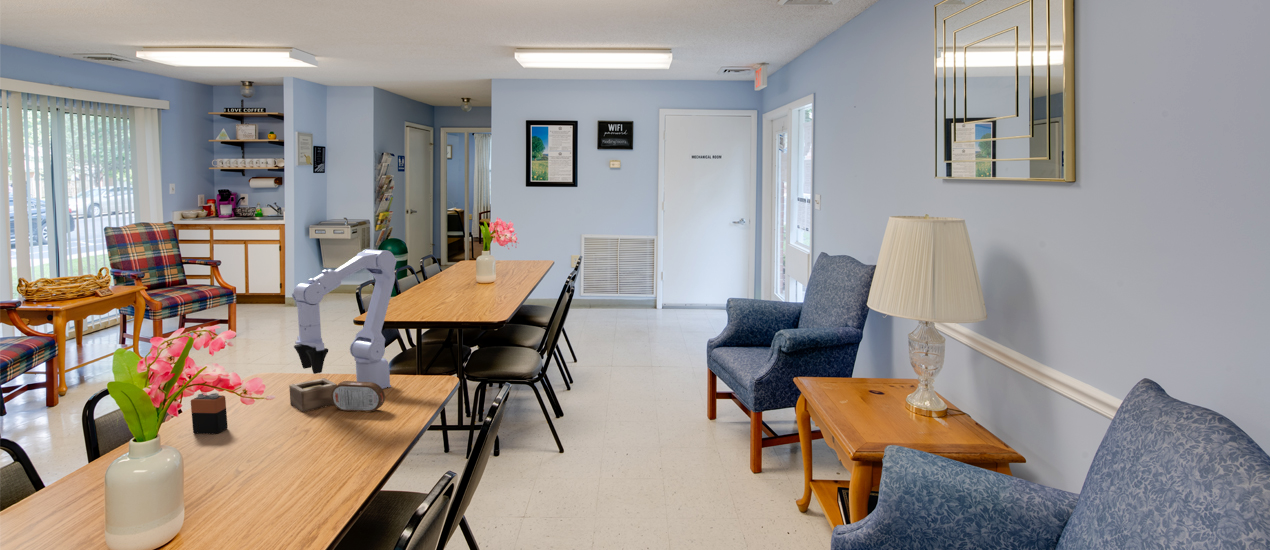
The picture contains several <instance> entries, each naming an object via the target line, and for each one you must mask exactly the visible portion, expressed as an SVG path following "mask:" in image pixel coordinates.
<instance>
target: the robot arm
mask: <svg viewBox="0 0 1270 550" xmlns="http://www.w3.org/2000/svg"><path fill="white" fill-rule="evenodd" d="M397 261H398V260H397V259H396V257H395V255H394V254H393V252H392V251H390V250H385V249H384V250H383V249H382V250H381V249H373V248H366V249H364V250H362V251H360V252H358V253H356V255H355V256H354V257H352V258H351V259H349V260H347V262H345V263H344V264H342V265H340V266H339V267H338V268H336V269H335V270H334V269H329V268H328V269H323V270H321V273H320V274H318V275H317V276H315V277H313V278H309V279H308V280H307V282H300V283H298V284H296V286H295V288H294V290H293V292H292V293H291V296H292V299H293V300H294V302H295V303H296V307H297V321H298V335H297V340H295V343H294V345H293V348H294V349H295V351H296V352H297V353H296V354H298V357H299V359H300V362H301V366H302V368H303V369H310V368H311V371H312V373H313V374H314V375H316V374H321V373H322V372H323V368H324V362H325V358H326V357H327V354H328V353H329V348H327V347H326V348H325V343H324V342H323V338H322V329H321V313H320V312H321V311H320V310H321V309H320V303H321V302H322V300H323V298H324V296H325V295H328V294H329V293H330V292H332V291H334V290H336V289H337V288H339V287H340V286H341V285H342V280H344V279H346V278H348V277H350V276H352V275H353V274H355V273H357V272H359V271H360V270H362V269H365V270H366V271H367V272H368V273H370V274H371V276H373V278H374V280H375V282H374V287H373V289H372V293H371V298H370V301H369V305H368V309H367V312H366V316H365V320H364V323H363V328H362V329H361V330H359V331H358V332H356V333H355V338H354V339H353V341H352V342H351V344H350V346H349V352H350V354H351V356H352V357H354V361H355V371H356V372H355V374H356V375H355V376H356V377H355V378H356V381H357V382H373V383H376V384H378V385H379V386H380V387H381V388H382V389H383V390H384V389H387V387H388V388H392V385H391V380H390V379H391V377H390V376H391V375H390V364H389V361H388V360H387V359H386V358H384V355H385V351H386V347H385V343H386V337H384V335H383V333H382V330H383V326H384V323H385V319H386V315H387V311H388V308H389V304H390V299H391V295H392V292H393V289H394V284H395V282H396V272H395V268H396V265H397Z"/></svg>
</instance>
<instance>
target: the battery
mask: <svg viewBox="0 0 1270 550" xmlns="http://www.w3.org/2000/svg"><path fill="white" fill-rule="evenodd" d="M203 394H204V393H198V394H197V396H196V397H194V398H192V399H191V400H190V408H191V409H190V410H191V421H192V432H193V434H198V435H199V434H203V433H205V434H206V433H208V434H209V433H210V434H209V435H219V433H222V432H223V431H225V430H227V429H228V416H227V403H226V402H227V400H226V395H222V394H221V395H219V392H218V393H217V392H214V393H210V394H205V395H203ZM212 433H213V434H212ZM205 434H204V435H205ZM206 435H207V434H206Z"/></svg>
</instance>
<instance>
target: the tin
mask: <svg viewBox="0 0 1270 550" xmlns="http://www.w3.org/2000/svg"><path fill="white" fill-rule="evenodd" d="M331 397H332V401H333V404H334V405H333V406H335V407H336V408H337V409H339V410H340V411H344V412H357V411H373V412H375V411H377V410H378V409H380V408H381V407H382V406H383V405H384V403H385V400H386V395H385V391H384V388H383V389H382V388H381V387H380V386H379V385H378V384H376V383H373V382H357V380H356V381H354V380H353V381H352V380H343V381H340V382H339V383H338V384H337V386H336V387H335V388H334V389H333V390H332V394H331Z"/></svg>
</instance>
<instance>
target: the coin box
mask: <svg viewBox="0 0 1270 550" xmlns="http://www.w3.org/2000/svg"><path fill="white" fill-rule="evenodd" d="M317 385H321V386H317ZM337 385H338V384H337V383H335V382H333V381H331V380H329V379H327V378H325V377H324V378H318V379H313V380H308V381H302V382H298V383H292V384H289V385H288V386H289V401H290V402H289V403H290V406H292V407H293V408H295V409H296V410H299V411H300V412H302V413H304V412H309V411H313V409H314V410H318V409H322V408H321V407H323V408H326V407H325V406H327V407H330V405H332V406H335V405H334V404H333V401H332V397H331V394H332V390H333V389H334V388H335V387H336V386H337ZM313 386H317V387H313ZM308 387H312V388H308ZM303 388H308V389H303ZM317 408H318V409H317Z"/></svg>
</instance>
